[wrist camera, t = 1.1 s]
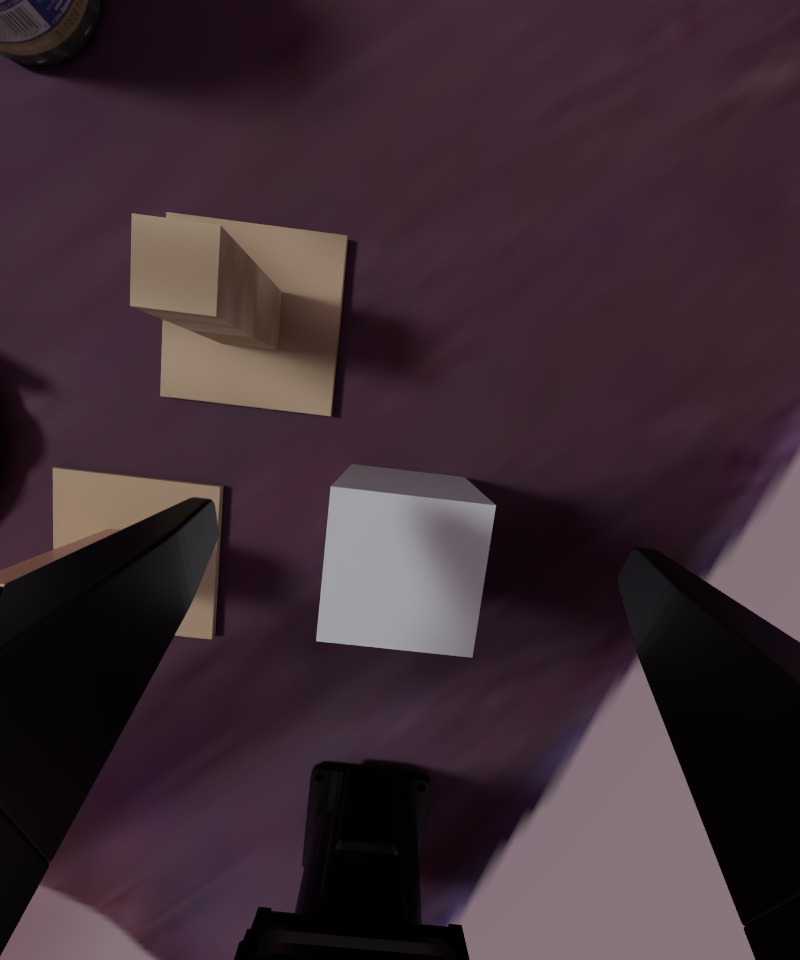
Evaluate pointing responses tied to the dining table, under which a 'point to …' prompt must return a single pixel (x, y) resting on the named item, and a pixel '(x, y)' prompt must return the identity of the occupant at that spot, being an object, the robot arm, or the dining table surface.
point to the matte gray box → (404, 561)
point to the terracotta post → (124, 526)
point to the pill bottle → (45, 29)
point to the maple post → (242, 309)
